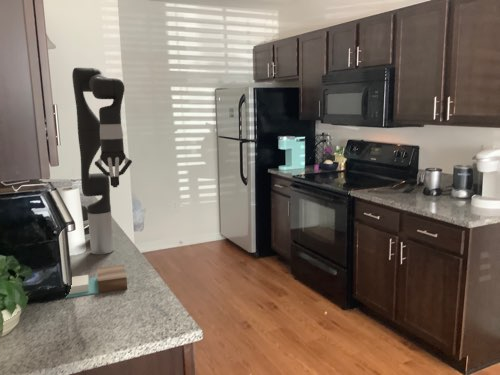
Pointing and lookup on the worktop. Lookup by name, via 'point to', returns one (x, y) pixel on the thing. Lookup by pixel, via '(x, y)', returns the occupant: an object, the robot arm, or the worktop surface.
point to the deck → (111, 278)
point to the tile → (79, 284)
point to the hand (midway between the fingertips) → (115, 187)
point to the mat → (92, 289)
